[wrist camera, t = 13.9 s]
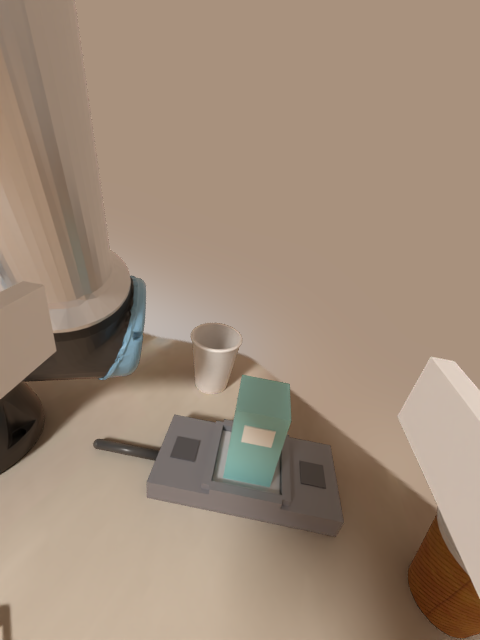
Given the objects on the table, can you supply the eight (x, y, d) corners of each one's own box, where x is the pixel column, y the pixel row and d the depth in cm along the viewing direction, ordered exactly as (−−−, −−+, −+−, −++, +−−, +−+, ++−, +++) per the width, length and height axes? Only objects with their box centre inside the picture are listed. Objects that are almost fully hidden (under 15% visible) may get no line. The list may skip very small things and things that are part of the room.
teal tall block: (222, 479, 35) (235, 411, 29) (229, 439, 40) (242, 374, 34) (269, 488, 35) (291, 421, 29) (270, 447, 39) (289, 383, 34)
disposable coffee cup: (447, 539, 36) (505, 478, 30) (521, 657, 27) (621, 604, 22) (374, 544, 34) (421, 480, 28) (430, 671, 26) (512, 618, 20)
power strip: (71, 481, 35) (66, 460, 33) (112, 417, 44) (111, 396, 42) (335, 536, 34) (346, 517, 32) (324, 459, 43) (332, 440, 41)
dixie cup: (210, 361, 58) (216, 317, 53) (243, 384, 54) (252, 337, 49) (177, 381, 52) (179, 332, 47) (211, 407, 48) (218, 357, 43)
